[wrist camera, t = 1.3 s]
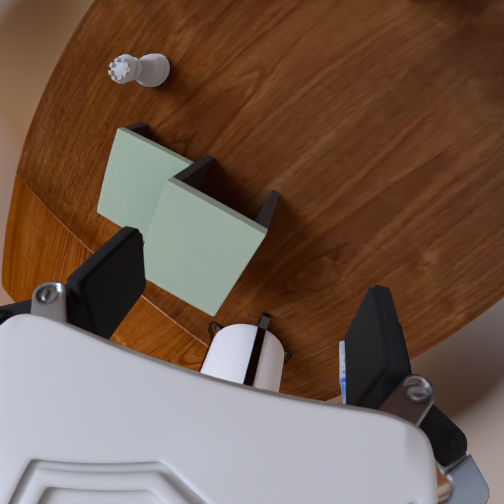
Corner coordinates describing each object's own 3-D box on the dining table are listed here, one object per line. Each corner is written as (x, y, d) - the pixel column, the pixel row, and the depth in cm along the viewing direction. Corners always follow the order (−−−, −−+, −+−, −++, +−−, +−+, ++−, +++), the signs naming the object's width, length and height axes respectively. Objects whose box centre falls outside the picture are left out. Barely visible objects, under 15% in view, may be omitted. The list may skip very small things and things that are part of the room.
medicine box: (367, 365, 47) (370, 405, 39) (343, 368, 48) (343, 408, 41) (365, 336, 43) (369, 379, 36) (338, 340, 45) (339, 383, 38)
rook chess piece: (156, 47, 27) (118, 41, 21) (178, 67, 29) (143, 64, 22) (134, 73, 30) (94, 74, 23) (155, 93, 31) (117, 97, 24)
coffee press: (196, 347, 52) (135, 490, 27) (227, 292, 44) (147, 484, 19) (277, 382, 54) (247, 525, 28) (324, 337, 45) (308, 524, 20)
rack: (142, 121, 33) (86, 138, 24) (279, 193, 35) (266, 235, 25) (118, 197, 39) (70, 230, 30) (236, 264, 41) (213, 317, 32)
